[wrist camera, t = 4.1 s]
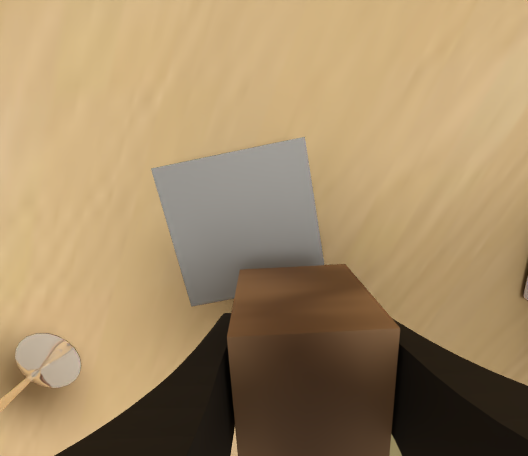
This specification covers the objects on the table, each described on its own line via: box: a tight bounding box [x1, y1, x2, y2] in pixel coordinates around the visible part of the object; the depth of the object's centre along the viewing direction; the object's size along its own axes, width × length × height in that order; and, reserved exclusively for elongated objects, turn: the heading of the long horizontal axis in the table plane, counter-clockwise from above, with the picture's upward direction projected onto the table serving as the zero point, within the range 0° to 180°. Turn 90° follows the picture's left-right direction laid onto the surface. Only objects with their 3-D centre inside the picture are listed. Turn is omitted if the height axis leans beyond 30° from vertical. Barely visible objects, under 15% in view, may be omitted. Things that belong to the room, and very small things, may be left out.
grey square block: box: [151, 137, 324, 306], centre depth 16 cm, size 8×8×4 cm
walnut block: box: [227, 264, 400, 456], centre depth 9 cm, size 4×4×4 cm
